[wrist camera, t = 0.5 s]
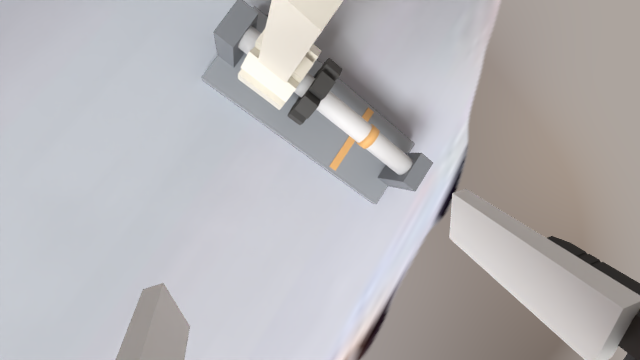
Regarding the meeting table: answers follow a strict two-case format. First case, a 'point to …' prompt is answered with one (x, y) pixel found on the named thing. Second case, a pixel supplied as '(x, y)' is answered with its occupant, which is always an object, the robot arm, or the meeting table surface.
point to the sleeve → (286, 48)
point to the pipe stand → (318, 117)
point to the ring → (315, 92)
